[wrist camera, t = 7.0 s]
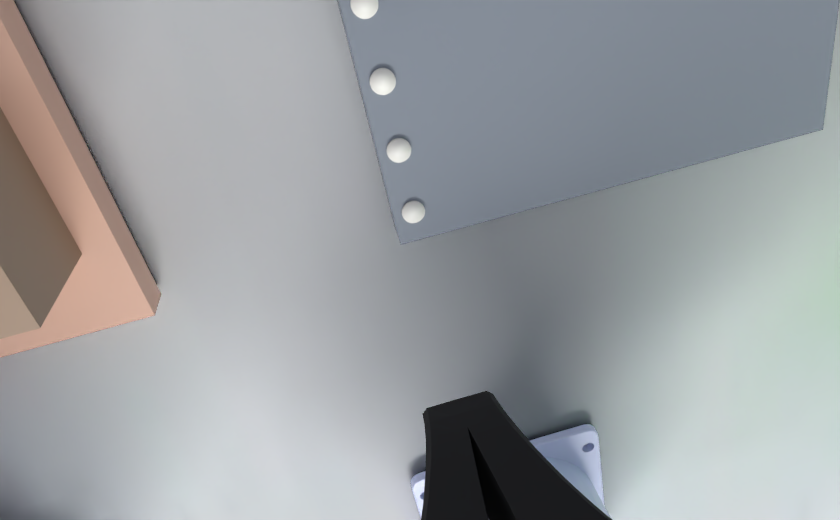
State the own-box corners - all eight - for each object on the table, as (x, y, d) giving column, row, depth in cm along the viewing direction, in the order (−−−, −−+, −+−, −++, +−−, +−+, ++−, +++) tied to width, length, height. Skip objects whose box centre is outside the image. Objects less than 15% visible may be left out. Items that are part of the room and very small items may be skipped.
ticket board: (797, 118, 22) (825, 130, 20) (395, 227, 21) (401, 246, 20) (836, -252, 16) (876, -263, 15) (305, -125, 16) (307, -127, 15)
